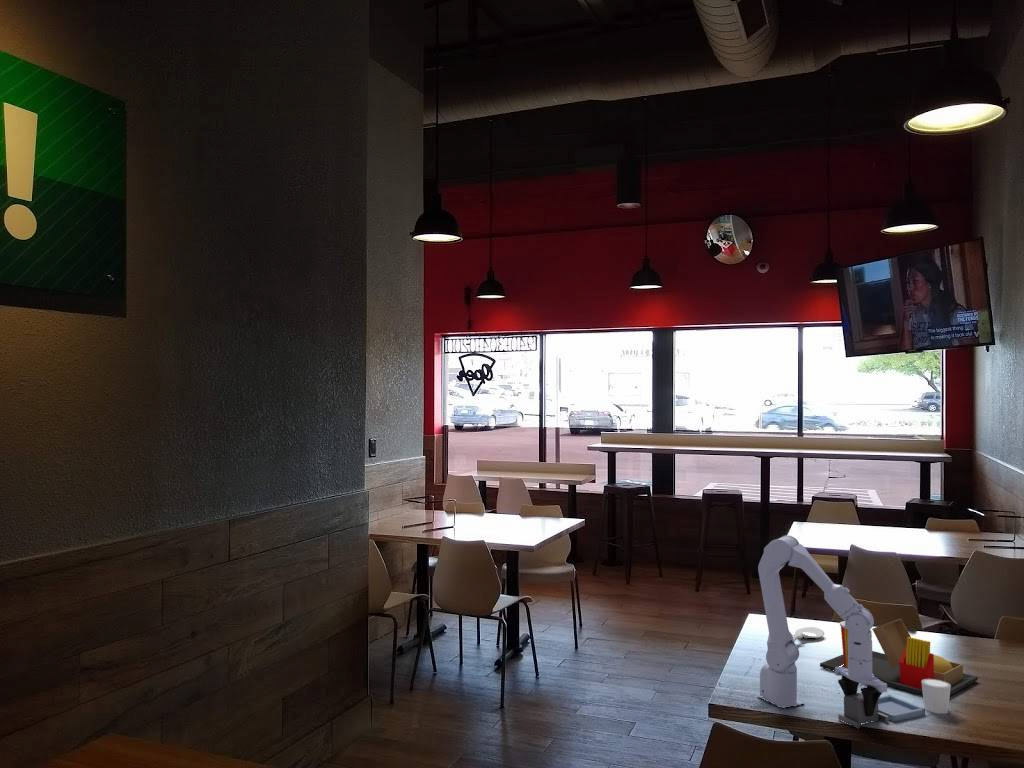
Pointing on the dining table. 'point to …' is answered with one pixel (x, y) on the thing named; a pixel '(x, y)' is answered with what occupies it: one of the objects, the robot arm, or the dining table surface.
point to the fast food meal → (905, 660)
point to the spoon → (814, 630)
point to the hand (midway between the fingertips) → (860, 711)
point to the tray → (898, 708)
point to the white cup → (936, 695)
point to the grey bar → (858, 708)
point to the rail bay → (858, 724)
